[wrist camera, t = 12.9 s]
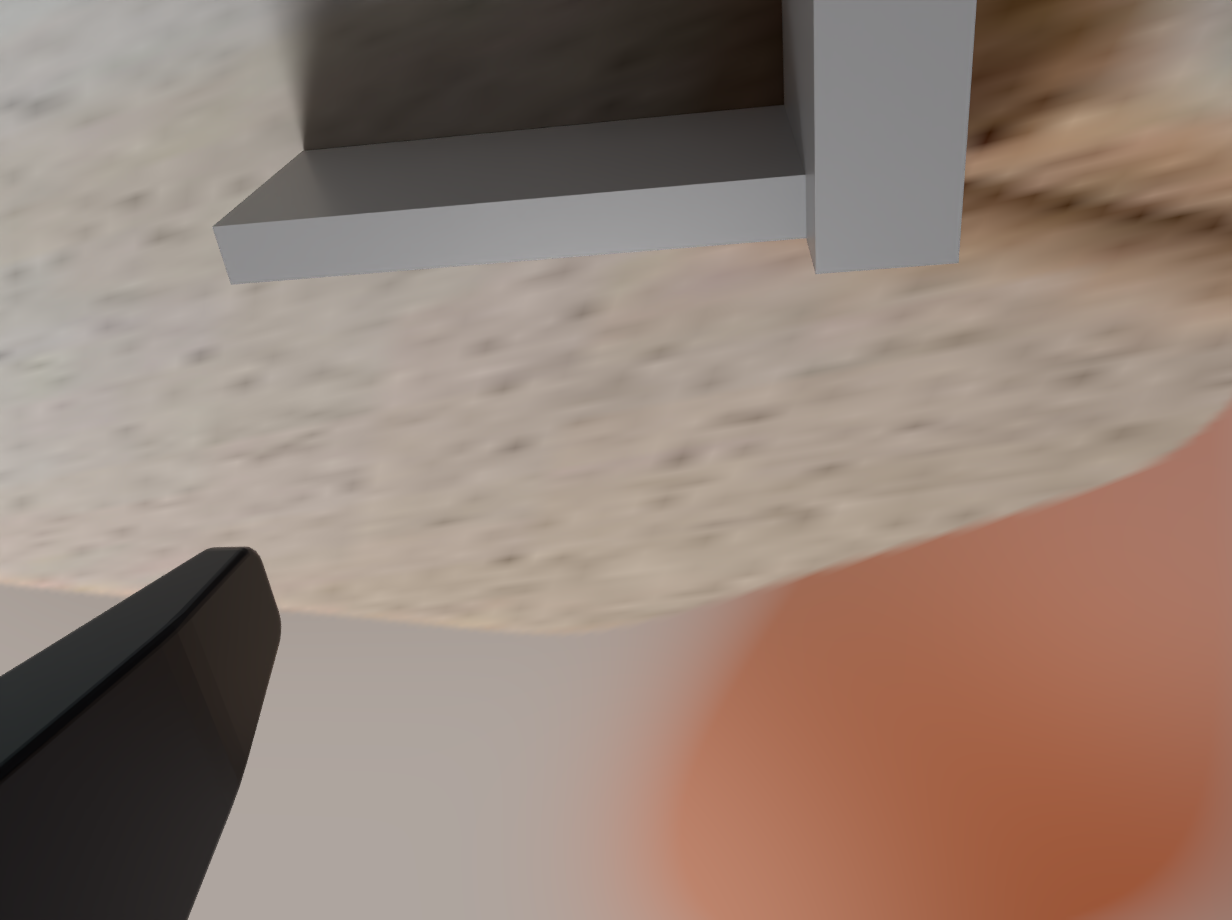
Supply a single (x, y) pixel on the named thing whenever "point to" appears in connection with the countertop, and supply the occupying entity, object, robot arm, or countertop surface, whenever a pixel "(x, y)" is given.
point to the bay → (661, 170)
